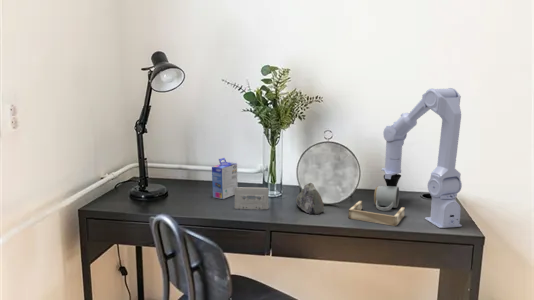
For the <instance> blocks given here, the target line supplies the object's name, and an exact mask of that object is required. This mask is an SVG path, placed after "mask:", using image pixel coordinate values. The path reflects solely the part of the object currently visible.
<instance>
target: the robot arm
mask: <svg viewBox="0 0 534 300" xmlns="http://www.w3.org/2000/svg"><path fill="white" fill-rule="evenodd" d="M461 97H462V96H461V94H459V92H458V91H457V90H456V89H455V88H453V87H448V88H429V89H427V90H426V92H424V93H423V94H422V97H421V99H420V100H419V102H417V104H416V105H415V106H414V107H413V109H411V111H410V112H403V113H401V114H400V117H399V118H398V119H397V120H395V121H394V122H393V124H391V125H386V126H385V127H384V128H383V134H382V135H383V138H384V140H385V141H386V145H385V159H384V160H385V162H384V167H382V168H381V171H382V172H384V174H383V179H384V181H385V184H386V186H397V187H398V183H399V181H400V179H401V177H402V175H401V173H402V155H403V154H402V153H403V146H404V145H405V144H404V143H405V140H406V139H407V136H408V133H409V132H410V131H411V130H412V129H413V128H414V127H416V126H417V124H418V120H419V119H420V118H421V117H422V116H424V115H425V114H427V112H429V111H430V110H431V111H433V112H434V113H435V114H437V115H438V116H439V117H440V118H441V129H440V136H439V137H440V139H439V146H438V156H437V164H436V167H435V168H434V169H433V171H431V173H430V178H429V179H428V181H427V191H428V193H429V194H430V196H431V206H430V216H429V217H427V216H426V217H425V218H424V220H426V221H427V222H429V223H431V224H432V225H434V226H435V227H438V228H440V229H444V228H460V227H462V225H463V224H461V223H460V221H461V211H462V209H461V205H460V204H459V203H458V202H457V200H456V197H458V193H460V191H461V190H462V186H463V185H462V181H461V172H460V171H459V170H457V169H456V165H457V164H456V163H457V155H458V148H459V147H458V145H459V138H460V131H461V130H460V129H461V122H462V121H461V120H462V109H461V106H460V104H461Z"/></svg>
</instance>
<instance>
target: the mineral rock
mask: <svg viewBox="0 0 534 300" xmlns="http://www.w3.org/2000/svg"><path fill="white" fill-rule="evenodd" d="M295 203H296V204H297V206H298V207H299V208H300V209H301V210H302V211H304V212H305V213H307V214H309V215H310V214H311V215H312V214H314V215H315V214H317V215H319V214H321V213H323V212H324V211H325V208H324V202H323V198H322V196H321V194H320V192H319V191H318V190H317V188H316V186H315V185H314V184H313V183H312V182H309V183H306V184H304V187H303V189H302V190H300V192H299V193H298V194H297V196H296V199H295Z"/></svg>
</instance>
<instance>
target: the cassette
mask: <svg viewBox="0 0 534 300" xmlns="http://www.w3.org/2000/svg"><path fill="white" fill-rule="evenodd" d="M269 192H270V191H269V188H268V187H244V186H243V187H241V186H240V187H239V186H238V187H236V188H235V195H234V209H235V210H237V209H238V210H269ZM249 197H255V198H249ZM258 197H259V198H258Z"/></svg>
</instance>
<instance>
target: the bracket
mask: <svg viewBox="0 0 534 300" xmlns="http://www.w3.org/2000/svg"><path fill="white" fill-rule="evenodd" d="M362 209H363V200H359V201H357V202H356V203H354V205H353V206H351V207H350V208H349V209H348V215H347V216H348V217H347V218H348V219H350V220H355V221H356V220H358V221H363V222H370V223H374V224H381V225H388V226H392V227H397V226H398V225H399V223H400V222H401V221H402V219H403V218H404V217H405V207H403V206H402V207H400V209H399V210H398V211H397V212H396V213H395V214H394V215H391V214H385V213H379V212H372V211H366V210H362Z"/></svg>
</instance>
